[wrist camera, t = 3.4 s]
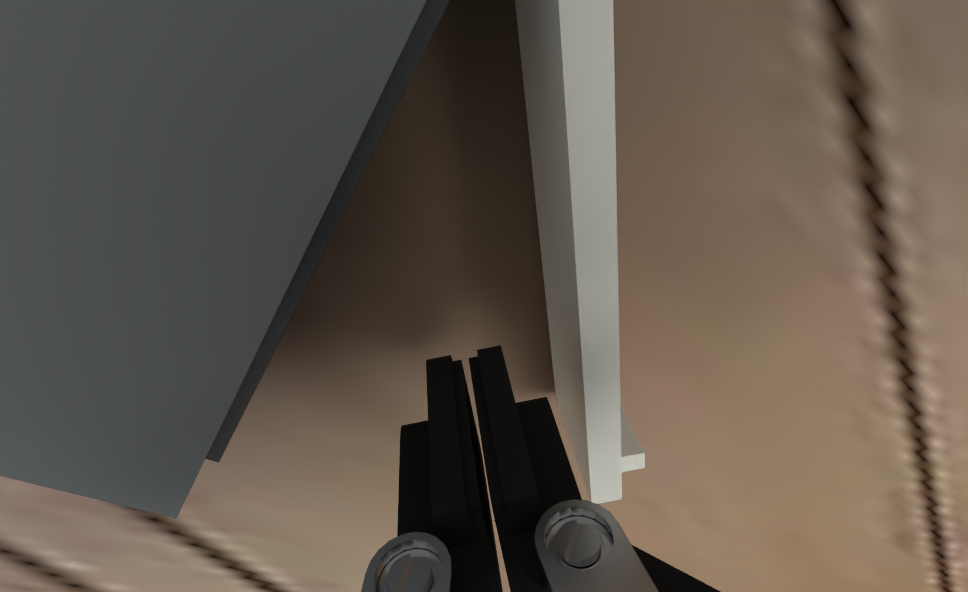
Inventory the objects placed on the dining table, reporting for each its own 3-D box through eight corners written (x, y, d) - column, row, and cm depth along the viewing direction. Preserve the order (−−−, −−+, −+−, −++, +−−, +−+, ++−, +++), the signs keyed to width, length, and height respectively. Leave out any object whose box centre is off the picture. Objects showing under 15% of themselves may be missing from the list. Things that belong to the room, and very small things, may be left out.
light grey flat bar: (589, -132, 10) (680, -199, 6) (607, 390, 17) (656, 492, 13) (492, -115, 10) (530, -174, 6) (550, 401, 17) (584, 506, 13)
